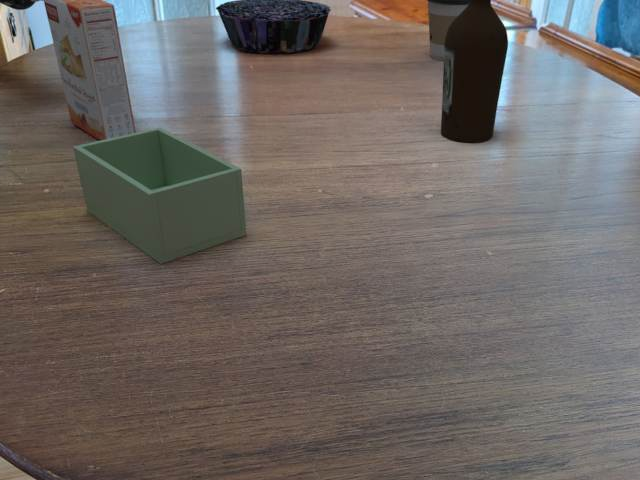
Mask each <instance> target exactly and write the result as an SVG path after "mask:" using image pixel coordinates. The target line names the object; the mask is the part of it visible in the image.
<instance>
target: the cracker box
mask: <svg viewBox="0 0 640 480" xmlns="http://www.w3.org/2000/svg"><path fill="white" fill-rule="evenodd" d="M43 4H44V7H45V8H44V9H45V13H46V17H47V21H48V26H49V30H50V33H51V39H52V42H53V43H52V44H53V47H54V52H55V56H56V60H57V66H58V70H59V75H60V79H61V82H62V88H63V91H64V96H65V101H66V105H67V109H68V113H69V119H70V121H71V123H72V124H73V125H75V126H76V127H78V128H80V129H81V130H83V131H84V132H85V133H87V134H88V135H90V136H91V137H93V138H94V139H96V140H97V141H101V140H105V139H110V138H114V137H119V136H123V135H128V134H132V133H137V131H136V125H135V119H134V113H133V108H132V101H131V96H130V91H129V85H128V80H127V79H128V77H127V73H126V67H125V61H124V57H123V50H122V45H121V38H120V32H119V26H118V21H117V15H116V9H115V5H114V4H112V3H110V2H108V1H105V0H44V1H43Z"/></svg>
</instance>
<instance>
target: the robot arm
mask: <svg viewBox="0 0 640 480" xmlns="http://www.w3.org/2000/svg"><path fill="white" fill-rule="evenodd" d="M38 2H44V0H0V5H1V4H2V5H4V6H6V7H8V8H10V9H13V10H16V11H23V10H28V9H30V8H32V7H33V6H34V5H35V3H38Z"/></svg>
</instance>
